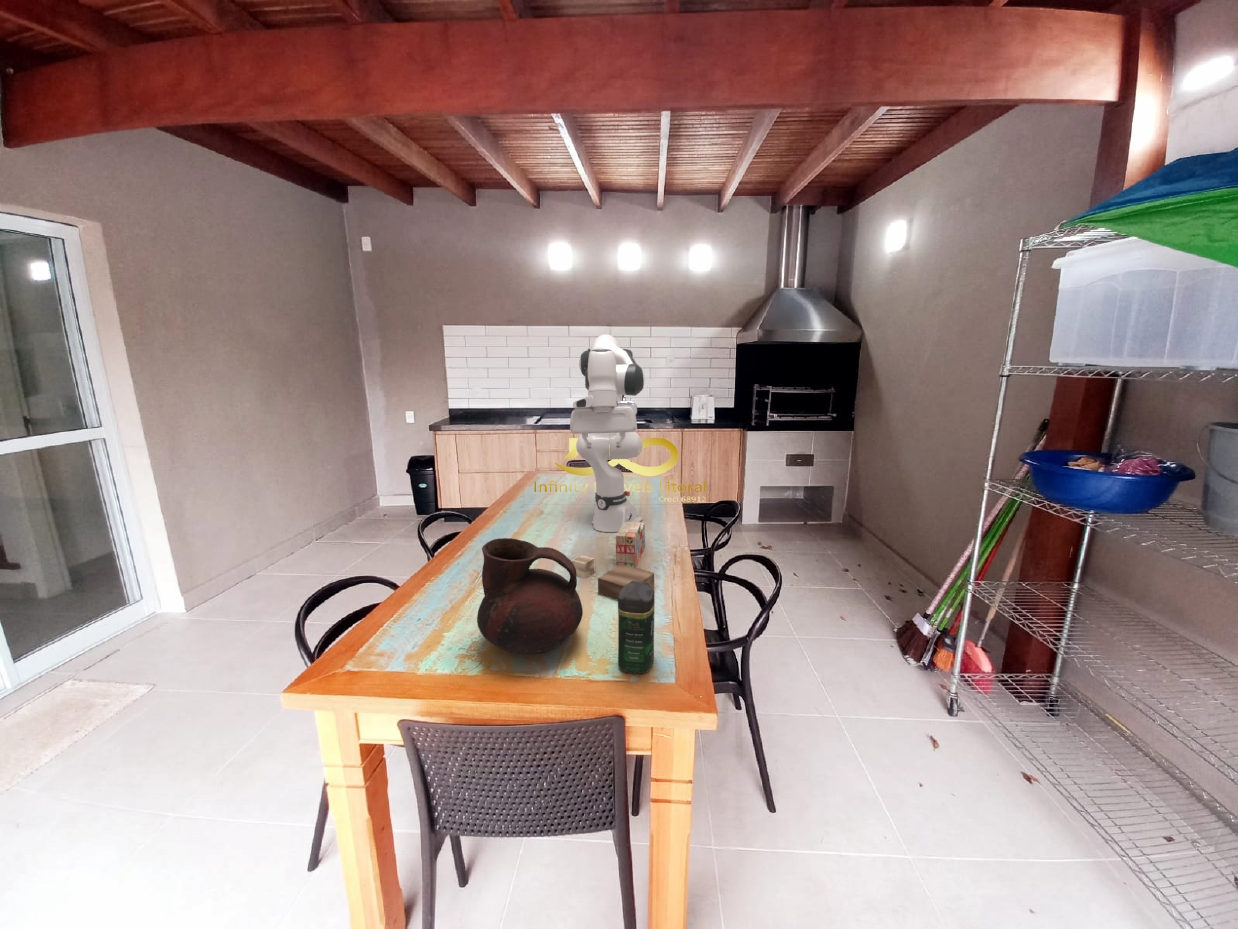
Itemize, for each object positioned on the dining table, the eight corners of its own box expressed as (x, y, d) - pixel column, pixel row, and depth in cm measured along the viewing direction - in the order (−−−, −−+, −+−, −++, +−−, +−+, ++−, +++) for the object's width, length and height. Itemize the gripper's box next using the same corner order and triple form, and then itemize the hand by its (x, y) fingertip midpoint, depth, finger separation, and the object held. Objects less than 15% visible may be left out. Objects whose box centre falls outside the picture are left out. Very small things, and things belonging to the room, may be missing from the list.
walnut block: (621, 578, 153) (621, 563, 152) (654, 588, 146) (654, 572, 145) (598, 593, 144) (597, 578, 142) (632, 605, 137) (632, 588, 136)
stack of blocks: (628, 545, 179) (628, 513, 177) (645, 546, 178) (645, 514, 175) (616, 570, 159) (615, 534, 156) (635, 572, 158) (634, 536, 155)
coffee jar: (650, 678, 106) (650, 600, 102) (615, 673, 108) (613, 596, 104) (657, 652, 115) (657, 579, 111) (624, 647, 117) (623, 576, 113)
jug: (568, 678, 106) (563, 572, 101) (460, 666, 111) (451, 564, 105) (593, 618, 130) (591, 529, 125) (504, 610, 135) (498, 524, 129)
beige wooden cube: (582, 569, 160) (581, 555, 159) (594, 573, 157) (593, 558, 156) (572, 575, 156) (571, 560, 155) (584, 578, 153) (584, 564, 152)
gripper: (638, 401, 149) (639, 447, 149) (573, 404, 153) (574, 449, 153) (635, 399, 142) (636, 446, 142) (567, 402, 146) (568, 448, 147)
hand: (603, 448), depth 148 cm, fingers open, 8 cm apart
